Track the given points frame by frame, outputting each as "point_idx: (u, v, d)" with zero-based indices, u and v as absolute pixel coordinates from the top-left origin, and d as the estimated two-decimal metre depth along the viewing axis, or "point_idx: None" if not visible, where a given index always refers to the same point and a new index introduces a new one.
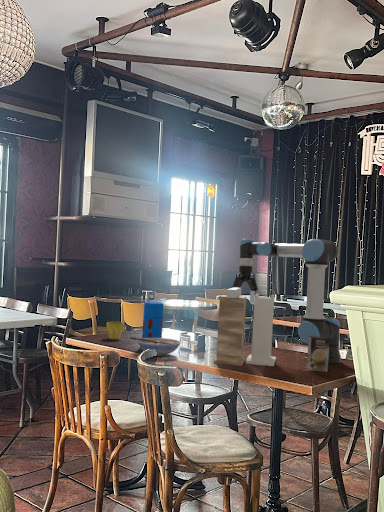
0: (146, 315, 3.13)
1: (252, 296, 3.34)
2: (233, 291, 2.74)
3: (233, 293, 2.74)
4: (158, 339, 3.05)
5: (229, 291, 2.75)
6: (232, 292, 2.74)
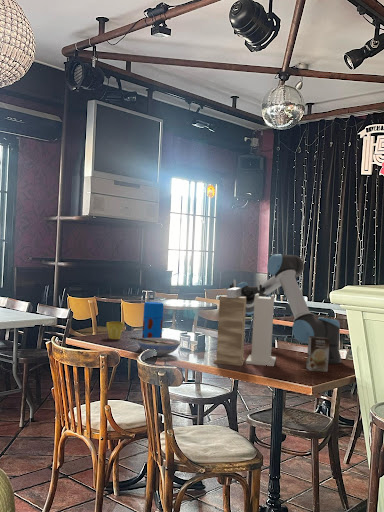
0: (146, 315, 3.13)
1: (258, 284, 3.20)
2: (233, 291, 2.74)
3: (233, 293, 2.74)
4: (158, 339, 3.05)
5: (229, 291, 2.75)
6: (232, 292, 2.74)
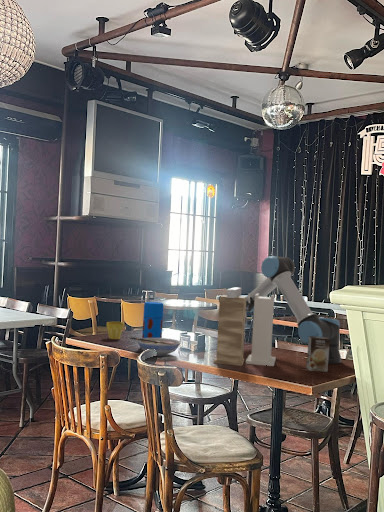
0: (146, 315, 3.13)
1: None
2: (233, 291, 2.74)
3: (233, 293, 2.74)
4: (158, 339, 3.05)
5: (229, 291, 2.75)
6: (232, 292, 2.74)
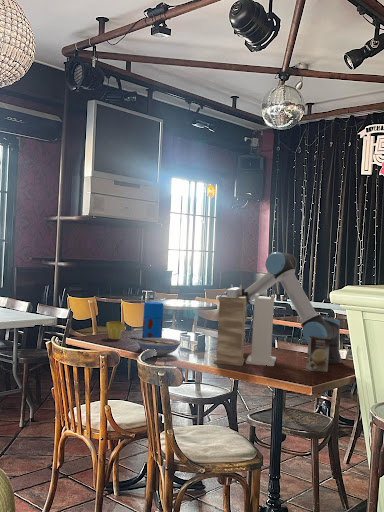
0: (146, 315, 3.13)
1: (240, 289, 2.96)
2: (233, 291, 2.74)
3: (233, 293, 2.74)
4: (158, 339, 3.05)
5: (229, 291, 2.75)
6: (232, 292, 2.74)
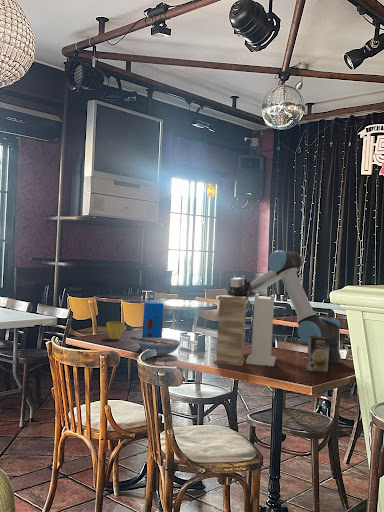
0: (146, 315, 3.13)
1: None
2: (236, 280, 2.84)
3: (236, 282, 2.84)
4: (158, 339, 3.05)
5: (232, 280, 2.84)
6: (235, 281, 2.84)
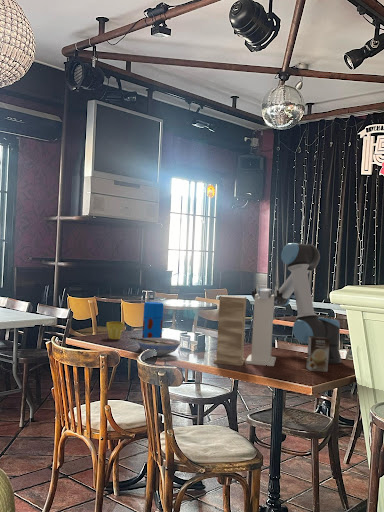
0: (146, 315, 3.13)
1: None
2: (266, 292, 2.81)
3: (266, 294, 2.81)
4: (158, 339, 3.05)
5: (262, 292, 2.82)
6: (265, 293, 2.81)
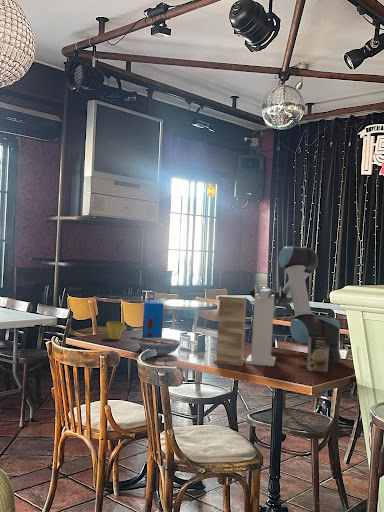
0: (146, 315, 3.13)
1: None
2: (266, 292, 2.81)
3: (266, 294, 2.81)
4: (158, 339, 3.05)
5: (262, 292, 2.82)
6: (265, 293, 2.81)
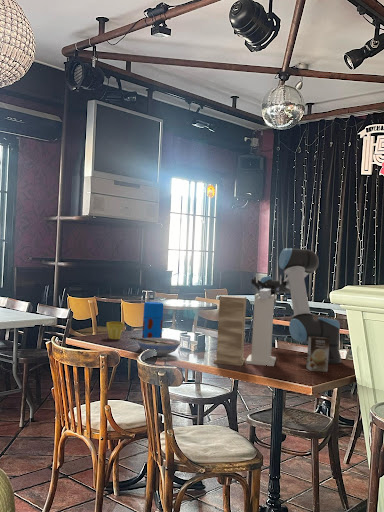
0: (146, 315, 3.13)
1: (280, 278, 3.24)
2: (266, 292, 2.81)
3: (266, 294, 2.81)
4: (158, 339, 3.05)
5: (262, 292, 2.82)
6: (265, 293, 2.81)
